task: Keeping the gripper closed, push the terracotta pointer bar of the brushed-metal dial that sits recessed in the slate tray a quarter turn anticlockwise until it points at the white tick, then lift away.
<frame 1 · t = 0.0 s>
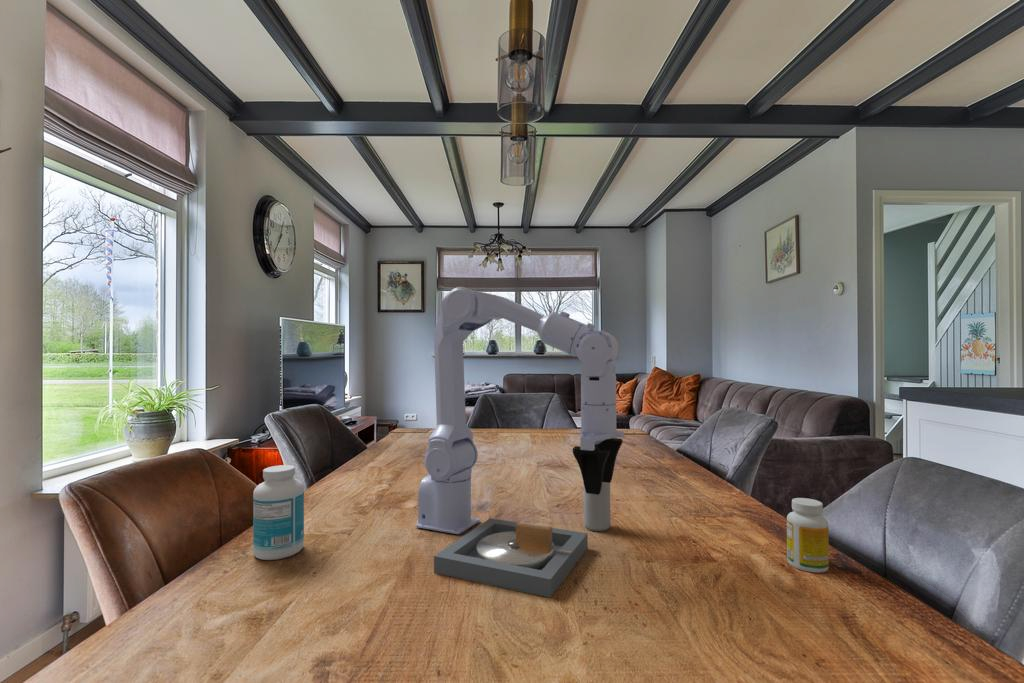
hand: (599, 487, 79), 10 cm above the table, fingers open, 7 cm apart
supplement bottle: (807, 567, 73), on the table
pill bottle: (278, 553, 78), on the table
beverage can: (597, 528, 89), on the table
slate tray: (515, 559, 75), on the table
dial: (515, 538, 75), point 3 cm above the table, hinge at 0.0°
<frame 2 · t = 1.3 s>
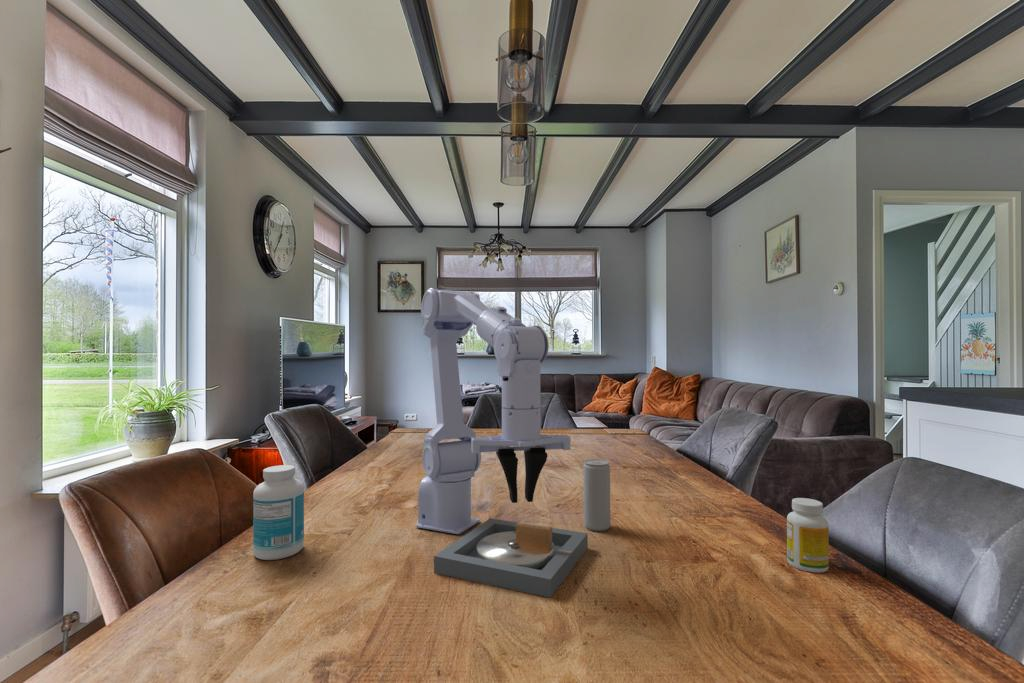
hand: (521, 500, 71), 10 cm above the table, fingers closed
nothing on the table moved.
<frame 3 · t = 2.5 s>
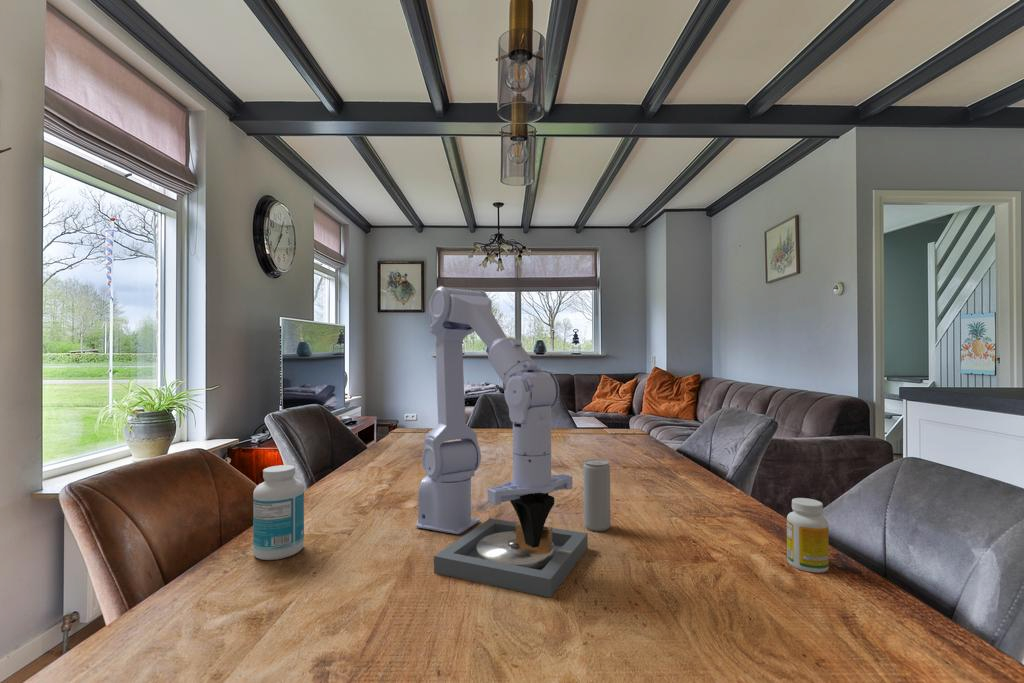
hand: (532, 544, 72), 4 cm above the table, fingers closed
dial: (515, 538, 75), point 3 cm above the table, hinge at 0.0°, touching gripper
everything else where it was.
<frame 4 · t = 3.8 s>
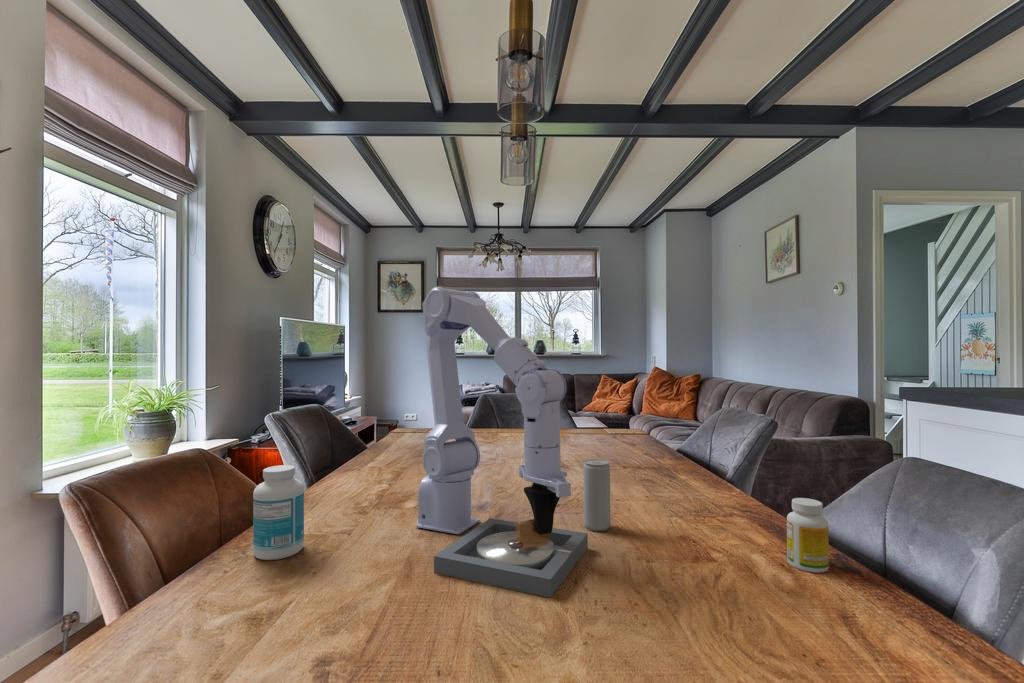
hand: (543, 532, 76), 4 cm above the table, fingers closed, pressing on dial
dial: (515, 538, 75), point 3 cm above the table, hinge at 51.4°, touching gripper
everything else where it was.
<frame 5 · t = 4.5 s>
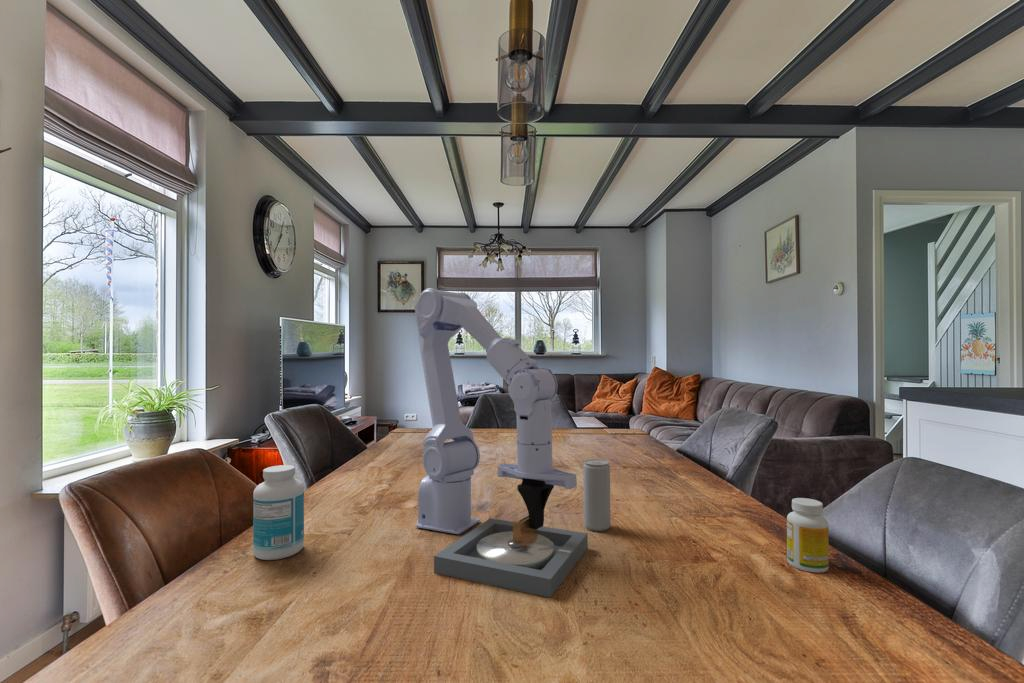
hand: (536, 527, 78), 4 cm above the table, fingers closed, pressing on dial
dial: (515, 538, 75), point 3 cm above the table, hinge at 81.9°, touching gripper
everything else where it was.
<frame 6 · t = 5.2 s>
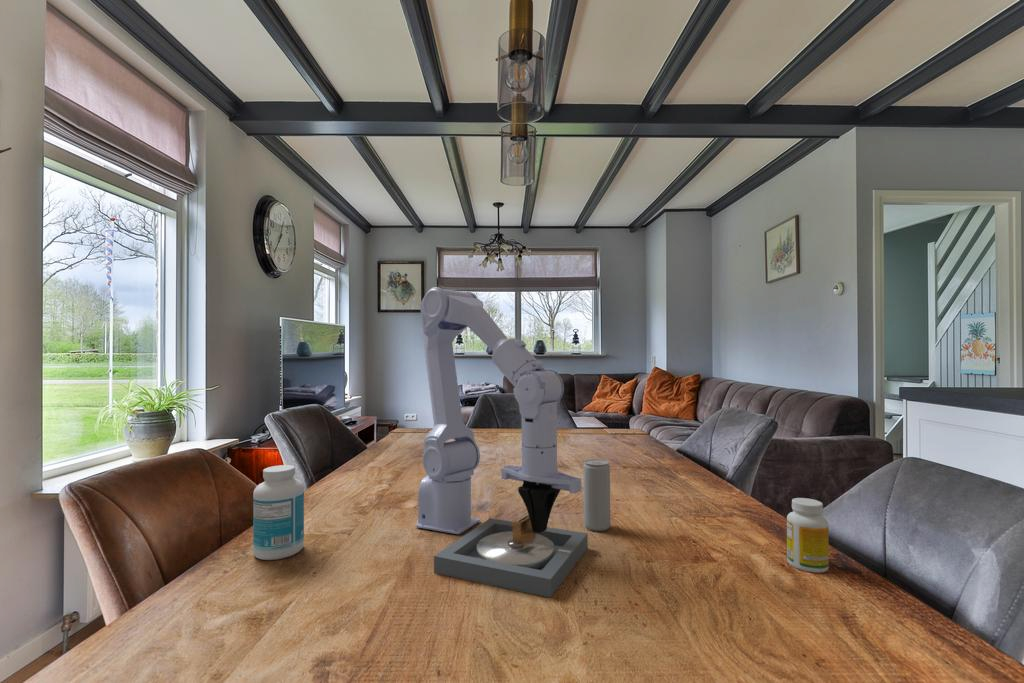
hand: (539, 530, 77), 4 cm above the table, fingers closed
dial: (515, 538, 75), point 3 cm above the table, hinge at 85.2°
everything else where it was.
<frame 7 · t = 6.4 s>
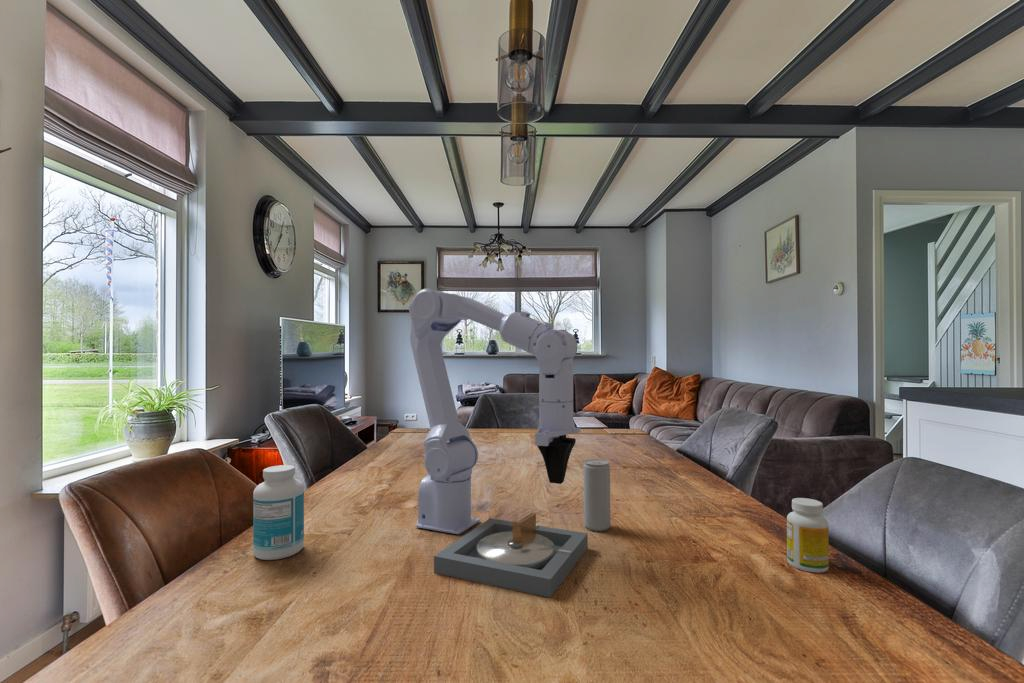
hand: (556, 482, 81), 10 cm above the table, fingers closed
nothing on the table moved.
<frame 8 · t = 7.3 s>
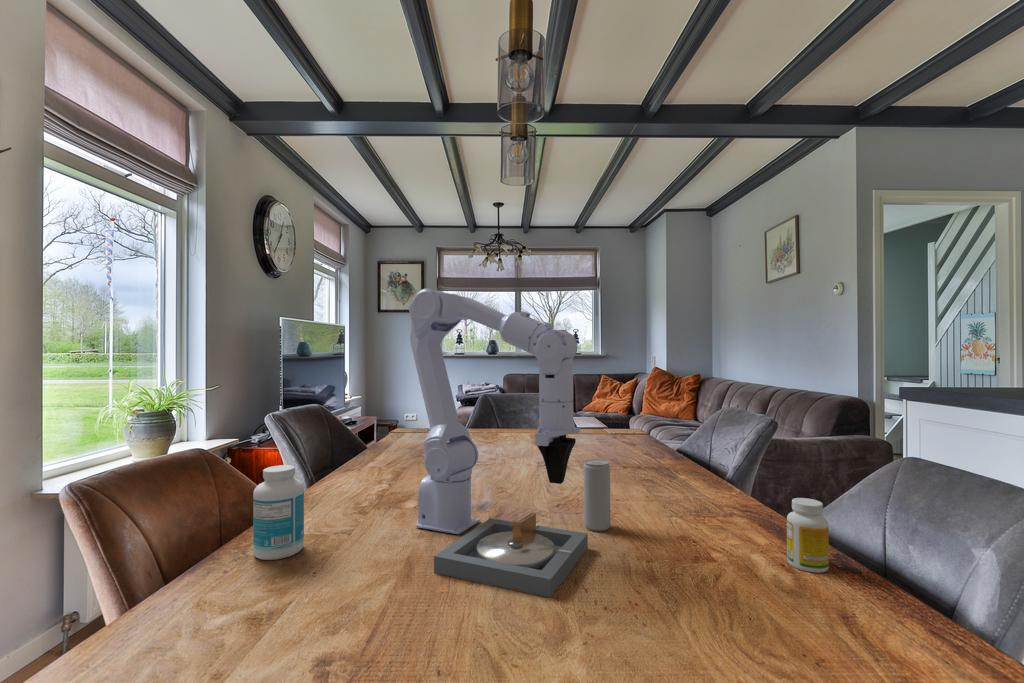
hand: (556, 482, 81), 10 cm above the table, fingers closed
nothing on the table moved.
at the end: dial at +85° (first picture: +0°) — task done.
